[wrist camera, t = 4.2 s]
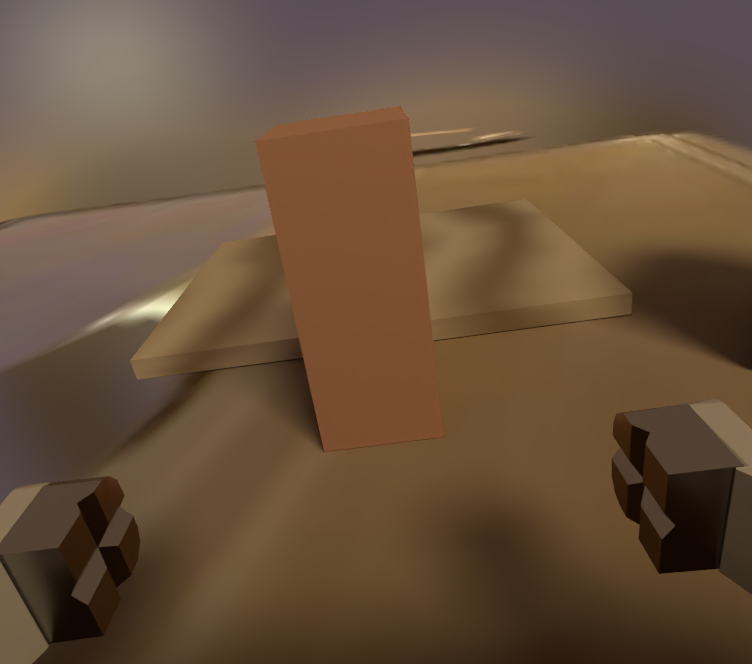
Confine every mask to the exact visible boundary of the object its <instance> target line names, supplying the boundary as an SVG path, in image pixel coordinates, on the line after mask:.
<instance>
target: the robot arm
mask: <svg viewBox="0 0 752 664" xmlns="http://www.w3.org/2000/svg"><path fill="white" fill-rule="evenodd" d="M613 436H614V438H615V439H616V441H617V443H618V444H619V446H620V449H619V450H618V451H617V452H616V453H615V455H614V456H613V457H612V480H613V485H614V490H615V494H616V497H617V499H618V502H619V504H620V506H621V508H622V510H623V512H624V514H625V516H626V517H627V518H629V519H630V520H632V521H634V522H636V523H637V524H639V525H640V526H639V540H640V542H641V544H642V545H643V547H644V549H645V551H646V552H647V554H648V556H649V558H650V559H651V561H652V563H653V564H654V566H655V568H656V570H657V571H658V573H659V574H662V573H674V572H686V571H698V570H710V569H720V570H719V572H721V573H722V574H723V575H725V576H726V577H728V578H729V579H731V580H732V581H733V582H735V583H736V584H738V585H739V586H741V587H742V588H743V589H745V590H746V591H748V592H749V593H750V594H752V429H751V428H750V427H749V426H747V425H746V424H745V423H744V422H743V421H742V420H741V419H740V418H739V417H738V416H737V415H736V414H735V413H734V412H733V411H732V410H731V409H730V408H728V407H727V406H726V405H725V404H724V403H723V402H722V401H719V400H717V399H708V400H702V401H696V402H689V403H683V404H681V405H675V406H668V407H660V408H653V409H645V410H638V411H630V412H623V413H616V416H615V419H614V422H613ZM124 496H125V495H124V493H123V491H122V489H121V487H120V485H119V483H118V481H117V480H116V479H114V478H112V477H109V476H107V477H97V478H87V479H77V480H68V481H58V482H51V483H41V484H33V485H25V486H21V487H19V488H16V489H14V490H13V491H12V492H11V493H10V494H9V495H8V497H7V498H6V499H5V500H4V501H3V503H2V504H1V505H0V664H32V663H33V662H34V661H35V660H36V659H37V658H38V657H39V656H40V655H41V654H42V653H43V652H44V651H45V650H46V649H47V648H48V647H49V645H48V644H50V643H57V642H64V641H71V640H78V639H85V638H92V637H99V636H104V634H105V631H106V629H107V627H108V625H109V623H110V621H111V618H112V616H113V614H114V612H115V610H116V608H117V605H118V603H119V601H120V599H121V598H120V595H119V593H118V590H117V587H118V586H119V585H120V584H122V583H123V582H124V581H125V580H126V579H127V578H128V577H130V576H131V575H132V572H133V570H134V568H135V565H136V563H137V561H138V555H139V547H140V538H139V531H138V527H137V524H136V522H135V519H134V517H133V516H132V515H131V514H129V513H128V512H126V511H125V510H124V509H122V508H121V507H120V505H121V503H122V500H123V498H124Z"/></svg>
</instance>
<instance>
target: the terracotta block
mask: <svg viewBox="0 0 752 664" xmlns="http://www.w3.org/2000/svg"><path fill="white" fill-rule="evenodd" d="M255 142H256V147H257V151H258V156H259V160H260V164H261V169H262V174H263V179H264V183H265V188H266V192H267V197H268V201H269V206H270V210H271V215H272V219H273V224H274V228H275V233H276V237H277V242H278V246H279V251H280V255H281V260H282V264H283V269H284V273H285V278H286V282H287V287H288V291H289V296H290V300H291V305H292V309H293V314H294V318H295V323H296V327H297V332H298V336H299V341H300V345H301V350H302V354H303V359H304V363H305V368H306V372H307V377H308V381H309V386H310V390H311V395H312V399H313V404H314V408H315V413H316V417H317V422H318V426H319V431H320V435H321V440H322V445H323V449H324V452H327V451H335V450H343V449H351V448H359V447H367V446H375V445H383V444H391V443H399V442H407V441H415V440H423V439H431V438H439V437H444V436H443V427H442V417H441V408H440V399H439V390H438V381H437V372H436V363H435V354H434V345H433V336H432V327H431V318H430V308H429V299H428V290H427V281H426V272H425V263H424V254H423V245H422V236H421V227H420V218H419V209H418V200H417V190H416V181H415V172H414V163H413V154H412V145H411V136H410V127H409V118H408V117H407V115H406V114H405V112H404V111H403V109H402V108H401V107H400V106H399V107H392V108H386V109H380V110H373V111H366V112H360V113H353V114H346V115H340V116H334V117H327V118H320V119H314V120H307V121H301V122H295V123H287V124H281V125H277V126H275V127H274V128H273V129H271V130H270V131H268V132H267V133H266V134H264V135H263V136H262V137H260V138H259V139H258V140H256V141H255Z"/></svg>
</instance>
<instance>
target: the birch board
mask: <svg viewBox="0 0 752 664" xmlns="http://www.w3.org/2000/svg"><path fill="white" fill-rule="evenodd" d="M419 218H420V227H421V236H422V245H423V254H424V263H425V272H426V281H427V290H428V299H429V308H430V318H431V327H432V336H433V340H441V339H448V338H456V337H464V336H471V335H479V334H486V333H494V332H501V331H509V330H516V329H524V328H531V327H539V326H546V325H554V324H561V323H569V322H577V321H584V320H592V319H599V318H607V317H614V316H622V315H629V314H631V313H632V295H633V293H632V292H631V291H630V290H629V289H628V288H627V287H625V286H624V285H623V284H622V283H621V282H620V281H619V280H617V279H616V278H615V277H614V276H613V275H612V274H611V273H610V272H608V271H607V270H606V269H605V268H604V267H603V266H602V265H600V264H599V263H598V262H597V261H596V260H595V259H594V258H593V257H591V256H590V255H589V254H588V253H587V252H586V251H585V250H584V249H582V248H581V247H580V246H579V245H578V244H577V243H576V242H574V241H573V240H572V239H571V238H570V237H569V236H568V235H567V234H565V233H564V232H563V231H562V230H561V229H560V228H559V227H557V226H556V225H555V224H554V223H553V222H552V221H551V220H550V219H548V218H547V217H546V216H545V215H544V214H543V213H542V212H540V211H539V210H538V209H537V208H536V207H535V206H534V205H533V204H531V203H530V202H529V201H528V200H527V199H524V200H517V201H510V202H503V203H496V204H489V205H482V206H475V207H468V208H461V209H454V210H447V211H440V212H433V213H426V214H419ZM298 358H303V354H302V350H301V345H300V341H299V336H298V332H297V327H296V323H295V318H294V314H293V309H292V305H291V300H290V296H289V291H288V287H287V282H286V278H285V273H284V269H283V264H282V260H281V255H280V251H279V246H278V242H277V237H276V235H272V236H265V237H258V238H252V239H245V240H238V241H231V242H224V243H222V244H221V245H220V246H219V247H218V249H217V250H216V251H215V253H214V254H213V255H212V256H211V258H210V259H209V260H208V262H207V263H206V264H205V265H204V267H203V268H202V269H201V270H200V272H199V273H198V274H197V276H196V277H195V278H194V279H193V281H192V282H191V283H190V285H189V286H188V287H187V288H186V290H185V291H184V292H183V293H182V295H181V296H180V297H179V299H178V300H177V301H176V302H175V304H174V305H173V306H172V308H171V309H170V310H169V311H168V313H167V314H166V315H165V316H164V318H163V319H162V320H161V322H160V323H159V324H158V325H157V327H156V328H155V329H154V331H153V332H152V333H151V334H150V336H149V337H148V338H147V339H146V341H145V342H144V343H143V345H142V346H141V347H140V348H139V350H138V351H137V353H136V354H135V355H134V356H133V357H132V359H131V360H130V362H131V364H132V367H133V369H134V372H135V375H136V378H137V380H139V379H147V378H155V377H162V376H170V375H177V374H185V373H192V372H200V371H207V370H215V369H222V368H230V367H238V366H245V365H253V364H260V363H268V362H275V361H283V360H290V359H298Z"/></svg>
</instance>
